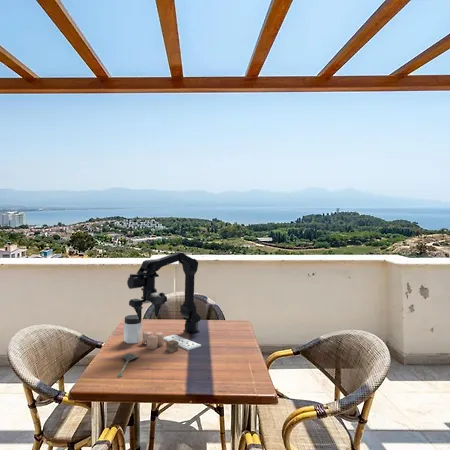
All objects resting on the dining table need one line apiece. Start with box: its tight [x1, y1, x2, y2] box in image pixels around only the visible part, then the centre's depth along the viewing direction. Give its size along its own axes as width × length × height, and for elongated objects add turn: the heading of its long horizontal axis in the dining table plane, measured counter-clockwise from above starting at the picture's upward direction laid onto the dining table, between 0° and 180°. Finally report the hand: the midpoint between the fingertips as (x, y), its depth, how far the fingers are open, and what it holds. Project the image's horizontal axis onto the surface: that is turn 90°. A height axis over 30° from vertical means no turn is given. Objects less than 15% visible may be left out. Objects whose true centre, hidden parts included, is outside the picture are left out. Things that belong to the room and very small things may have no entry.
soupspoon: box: [116, 353, 139, 377], centre depth 158 cm, size 22×3×7 cm
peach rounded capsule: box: [153, 331, 165, 347], centre depth 184 cm, size 5×5×5 cm
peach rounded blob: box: [146, 334, 159, 350], centre depth 179 cm, size 5×5×5 cm
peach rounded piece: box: [141, 330, 154, 346], centre depth 185 cm, size 5×5×5 cm
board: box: [164, 333, 202, 351], centre depth 186 cm, size 8×21×1 cm, turn 45°
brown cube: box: [165, 340, 179, 353], centre depth 176 cm, size 4×4×4 cm
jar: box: [123, 314, 143, 345], centre depth 187 cm, size 9×8×12 cm
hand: (148, 318), depth 185 cm, fingers open, 9 cm apart
